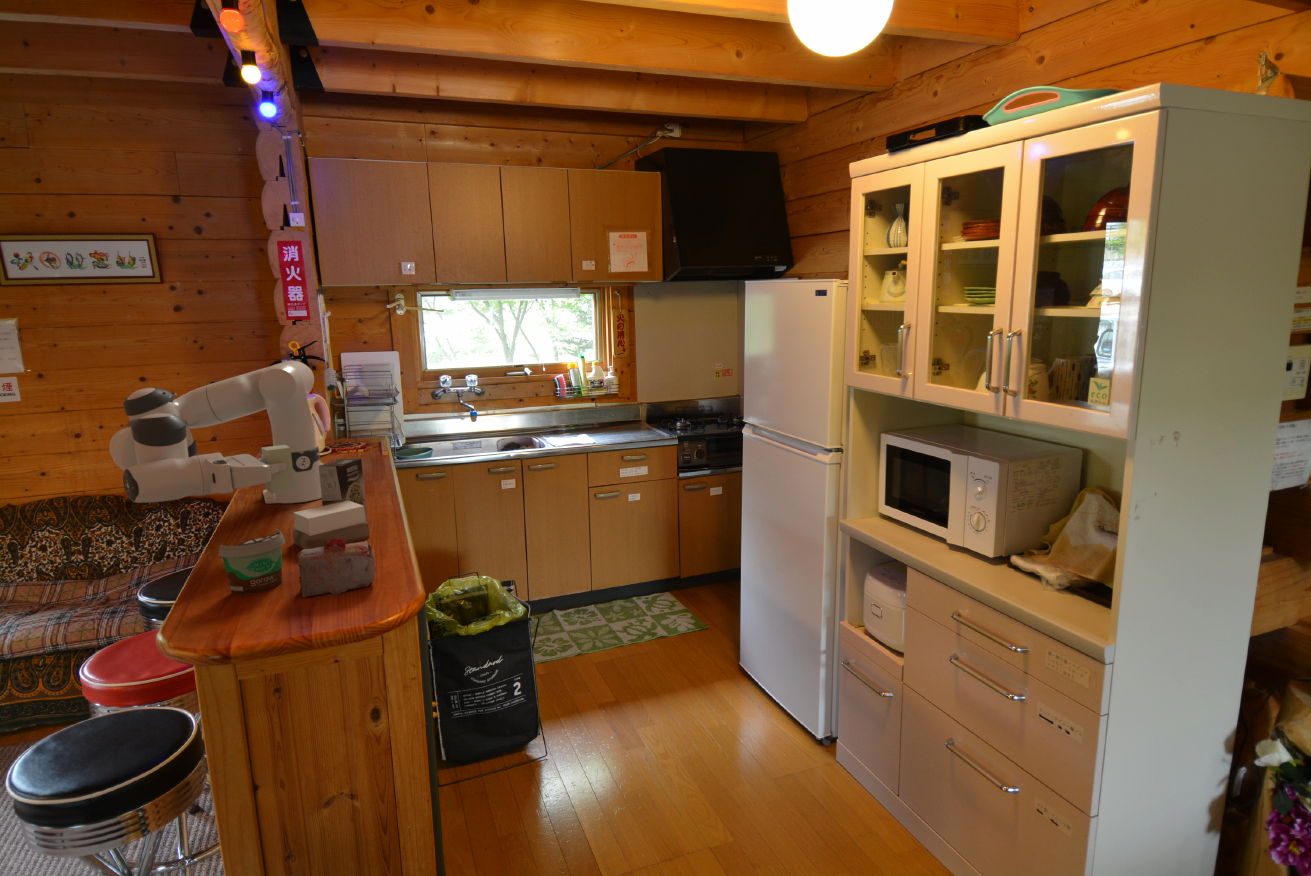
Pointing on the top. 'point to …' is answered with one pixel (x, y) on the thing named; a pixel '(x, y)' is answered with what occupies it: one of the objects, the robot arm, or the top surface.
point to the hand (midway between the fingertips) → (282, 463)
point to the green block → (281, 478)
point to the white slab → (329, 517)
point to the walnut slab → (331, 536)
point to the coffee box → (342, 482)
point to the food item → (336, 567)
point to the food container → (254, 564)
